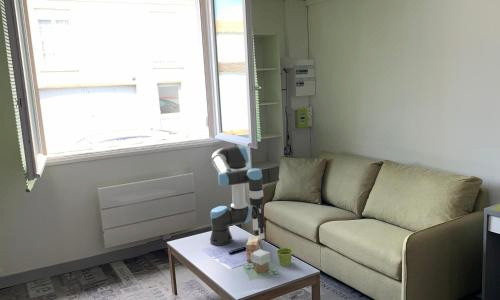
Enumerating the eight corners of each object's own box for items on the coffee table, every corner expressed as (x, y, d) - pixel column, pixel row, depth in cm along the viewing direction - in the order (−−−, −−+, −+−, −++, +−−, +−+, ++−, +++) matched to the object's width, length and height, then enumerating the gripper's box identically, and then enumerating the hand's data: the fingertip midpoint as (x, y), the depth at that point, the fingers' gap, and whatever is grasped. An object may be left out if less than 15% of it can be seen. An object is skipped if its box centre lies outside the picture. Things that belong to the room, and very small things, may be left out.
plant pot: (283, 270, 235) (282, 256, 233) (273, 264, 242) (273, 250, 241) (296, 265, 239) (296, 251, 238) (286, 260, 247) (286, 246, 246)
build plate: (242, 267, 243) (241, 263, 242) (271, 262, 246) (271, 258, 246) (249, 282, 223) (249, 279, 223) (282, 277, 227) (281, 273, 227)
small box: (270, 260, 234) (270, 252, 233) (261, 265, 229) (260, 256, 228) (260, 257, 239) (260, 248, 239) (251, 261, 234) (250, 253, 233)
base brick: (253, 268, 237) (253, 259, 236) (265, 266, 239) (265, 257, 238) (256, 273, 231) (256, 265, 230) (269, 271, 232) (268, 263, 231)
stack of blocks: (252, 249, 267) (251, 230, 265) (262, 249, 266) (261, 230, 264) (247, 264, 246) (245, 244, 244) (257, 264, 245) (256, 244, 243)
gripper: (244, 192, 239) (247, 227, 243) (255, 204, 215) (257, 243, 219) (257, 190, 240) (259, 225, 244) (269, 202, 216) (271, 241, 220)
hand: (258, 234), depth 231 cm, fingers open, 13 cm apart
